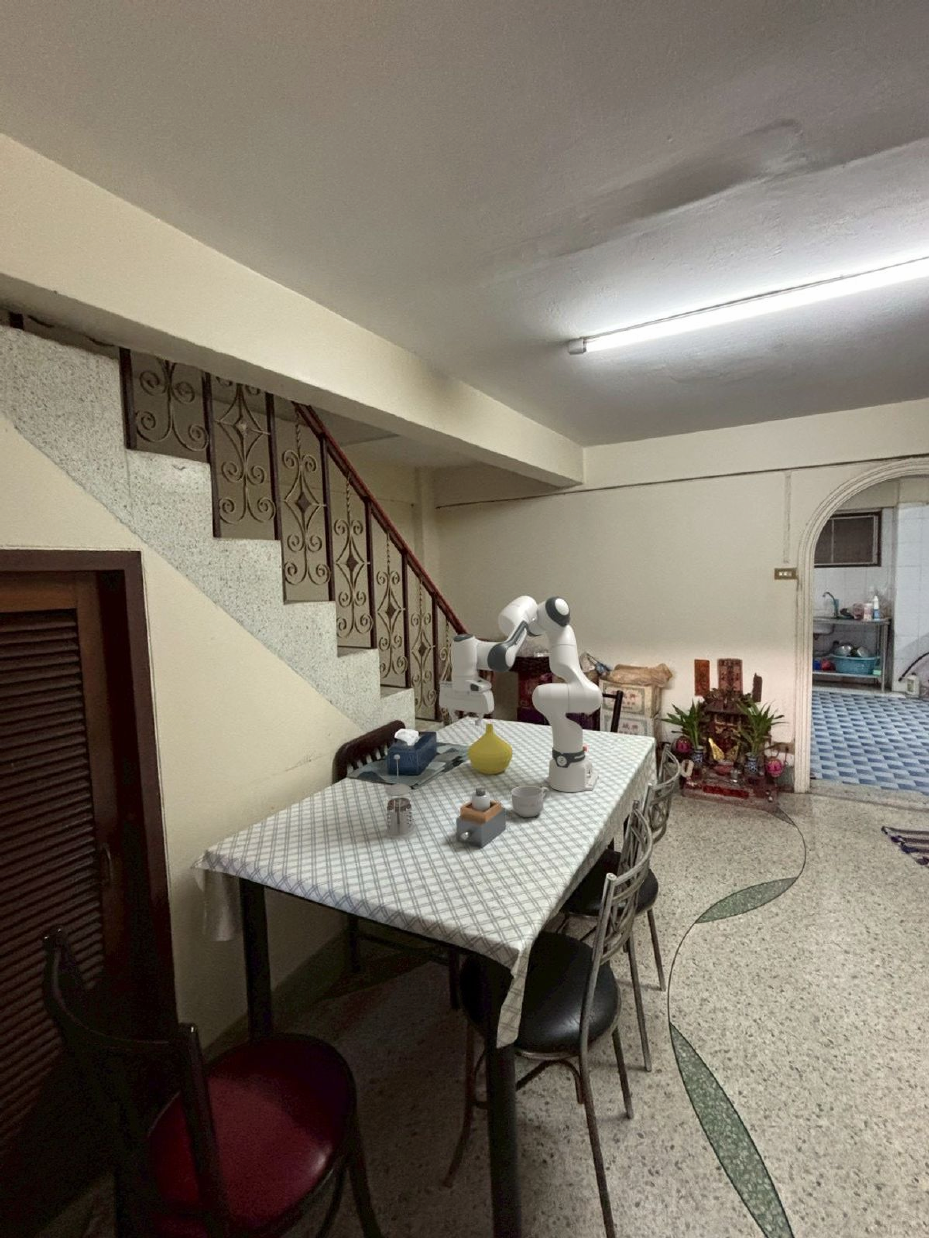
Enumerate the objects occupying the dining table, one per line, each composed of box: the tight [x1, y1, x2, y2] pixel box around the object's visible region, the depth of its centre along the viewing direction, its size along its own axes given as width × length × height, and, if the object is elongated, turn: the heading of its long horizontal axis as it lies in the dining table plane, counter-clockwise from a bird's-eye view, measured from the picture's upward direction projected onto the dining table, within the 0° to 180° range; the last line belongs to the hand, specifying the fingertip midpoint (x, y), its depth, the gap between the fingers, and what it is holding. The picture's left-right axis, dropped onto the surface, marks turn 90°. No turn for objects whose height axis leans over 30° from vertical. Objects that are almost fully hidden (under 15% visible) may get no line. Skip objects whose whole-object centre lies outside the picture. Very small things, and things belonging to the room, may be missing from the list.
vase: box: [467, 723, 514, 775], centre depth 222 cm, size 18×18×19 cm
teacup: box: [510, 785, 550, 818], centre depth 182 cm, size 14×11×8 cm
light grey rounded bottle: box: [471, 787, 491, 812], centre depth 166 cm, size 6×6×8 cm
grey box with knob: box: [455, 799, 507, 849], centre depth 166 cm, size 17×9×10 cm, turn 146°
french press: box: [384, 754, 416, 840], centre depth 169 cm, size 10×12×25 cm
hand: (466, 723), depth 182 cm, fingers open, 8 cm apart
